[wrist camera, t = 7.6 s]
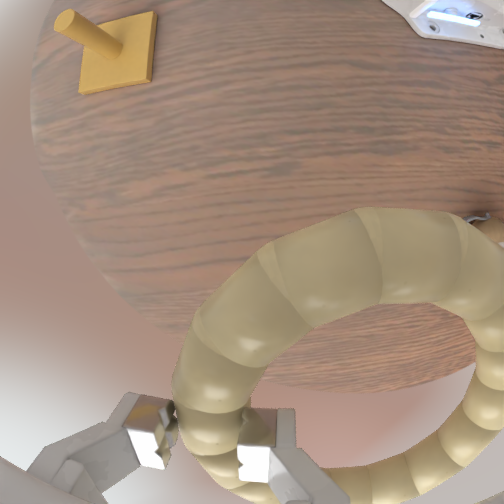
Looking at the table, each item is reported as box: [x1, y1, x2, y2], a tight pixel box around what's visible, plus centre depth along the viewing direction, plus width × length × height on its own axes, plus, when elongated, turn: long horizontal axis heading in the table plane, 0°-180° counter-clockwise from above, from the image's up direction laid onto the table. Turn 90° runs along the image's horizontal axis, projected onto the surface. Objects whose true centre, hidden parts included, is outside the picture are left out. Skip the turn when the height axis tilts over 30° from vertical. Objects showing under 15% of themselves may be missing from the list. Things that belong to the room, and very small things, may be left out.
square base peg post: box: [54, 9, 157, 95], centre depth 23 cm, size 9×9×12 cm
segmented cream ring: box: [171, 207, 504, 504], centre depth 9 cm, size 13×13×2 cm
